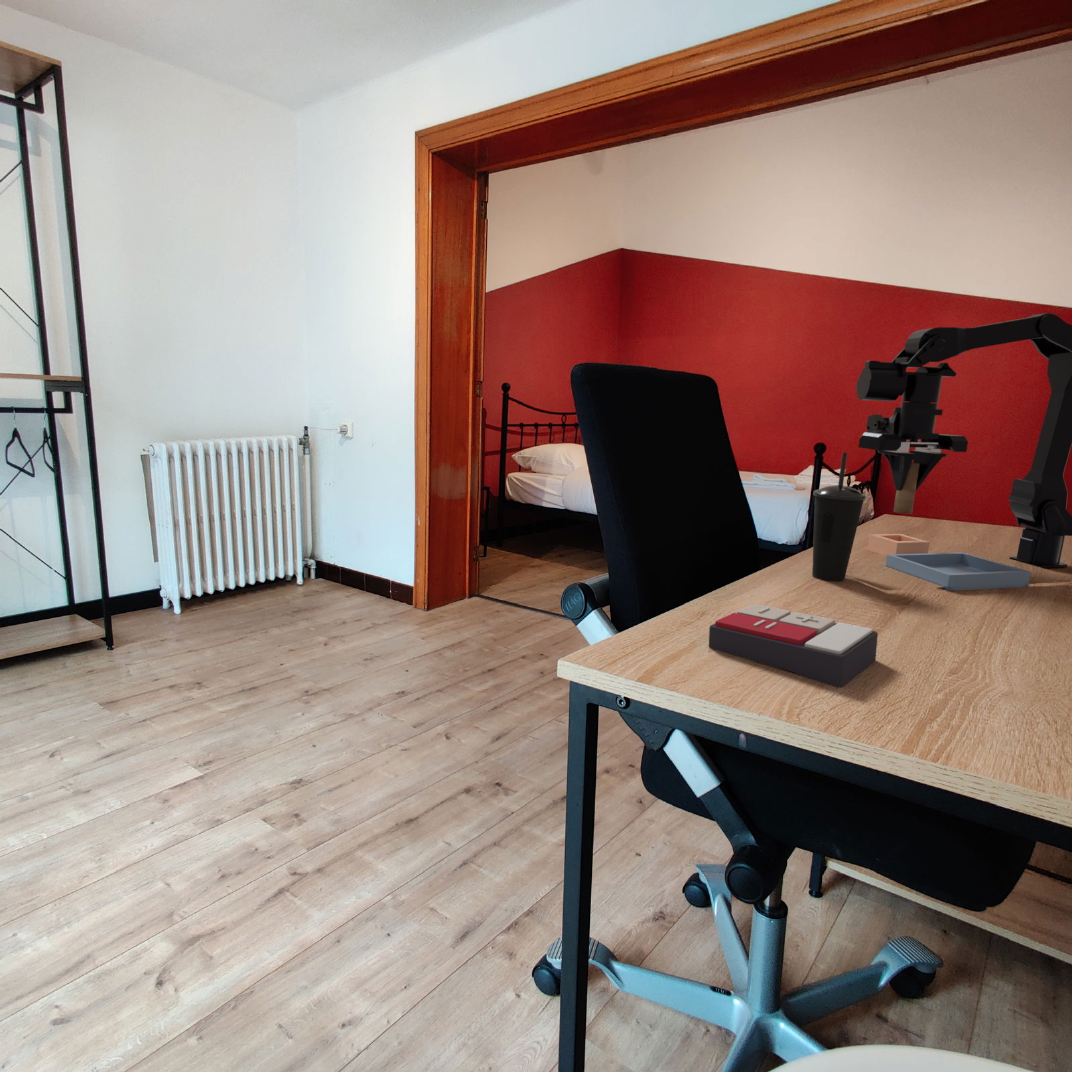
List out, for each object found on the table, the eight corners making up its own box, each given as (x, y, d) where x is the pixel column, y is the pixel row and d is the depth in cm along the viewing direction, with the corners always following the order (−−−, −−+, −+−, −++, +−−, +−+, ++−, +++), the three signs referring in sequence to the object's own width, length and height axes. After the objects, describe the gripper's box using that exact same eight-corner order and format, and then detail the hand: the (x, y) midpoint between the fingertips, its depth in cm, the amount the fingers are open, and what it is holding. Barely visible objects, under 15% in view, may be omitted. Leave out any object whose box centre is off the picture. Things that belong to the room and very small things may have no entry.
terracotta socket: (897, 551, 134) (900, 533, 133) (926, 560, 127) (929, 542, 126) (866, 552, 132) (869, 534, 131) (894, 561, 125) (897, 542, 124)
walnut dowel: (903, 510, 129) (910, 461, 127) (915, 513, 126) (923, 463, 125) (889, 510, 129) (897, 461, 127) (902, 513, 126) (909, 463, 124)
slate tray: (960, 565, 124) (962, 552, 124) (1028, 586, 112) (1031, 571, 111) (885, 568, 120) (887, 554, 119) (946, 590, 108) (949, 575, 107)
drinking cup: (862, 584, 109) (881, 456, 105) (813, 582, 109) (829, 454, 105) (842, 571, 117) (859, 451, 112) (796, 570, 117) (811, 449, 112)
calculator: (752, 600, 88) (879, 624, 78) (750, 633, 88) (876, 662, 78) (708, 619, 80) (843, 649, 70) (706, 655, 80) (840, 690, 70)
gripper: (926, 402, 133) (914, 483, 137) (843, 399, 128) (832, 483, 132) (976, 404, 123) (961, 493, 126) (888, 401, 118) (875, 493, 121)
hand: (906, 490), depth 127 cm, fingers closed on walnut dowel, 3 cm apart
